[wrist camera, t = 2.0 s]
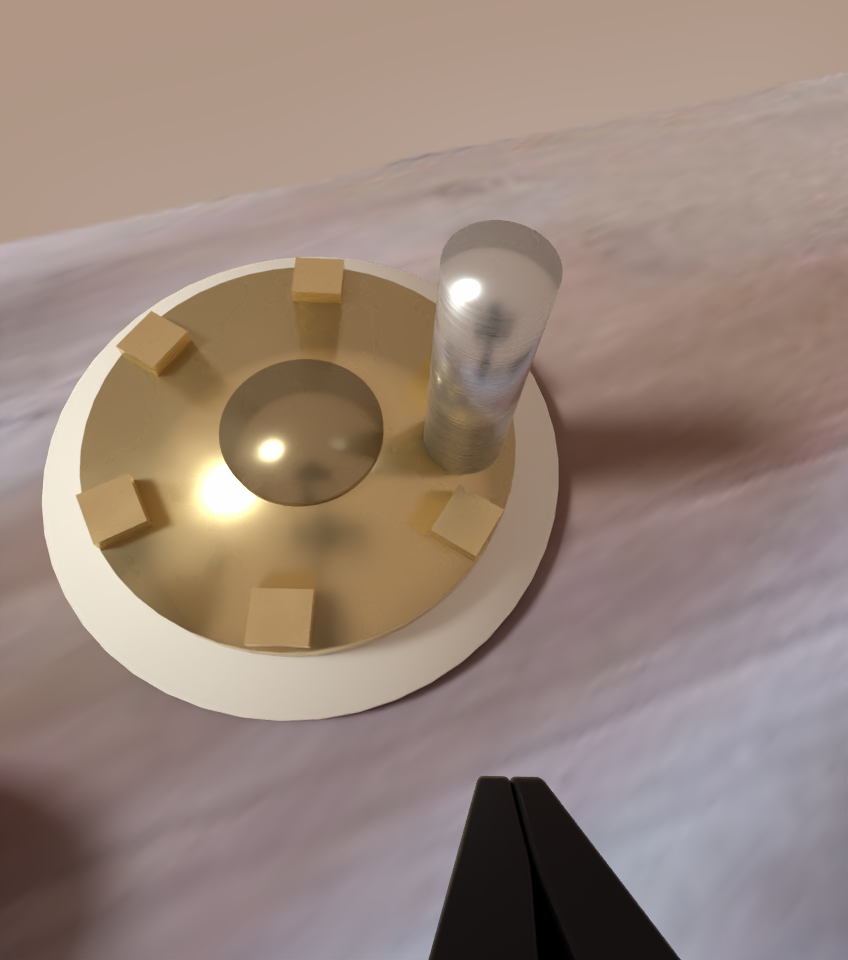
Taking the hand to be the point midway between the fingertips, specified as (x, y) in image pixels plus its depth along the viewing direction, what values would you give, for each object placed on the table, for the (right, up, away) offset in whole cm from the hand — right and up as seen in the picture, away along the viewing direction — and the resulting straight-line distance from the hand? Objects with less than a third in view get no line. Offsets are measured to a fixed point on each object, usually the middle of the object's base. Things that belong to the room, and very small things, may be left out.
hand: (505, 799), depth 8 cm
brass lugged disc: (-6, +5, +17) cm, 19 cm away
